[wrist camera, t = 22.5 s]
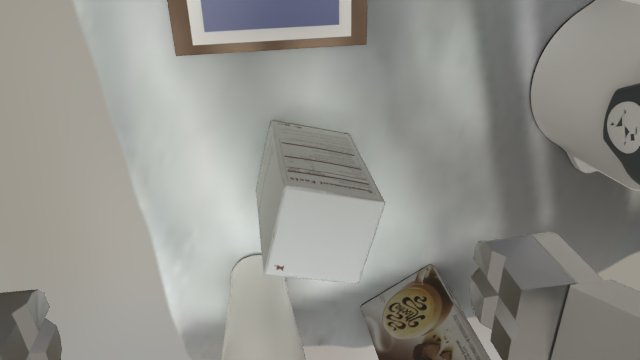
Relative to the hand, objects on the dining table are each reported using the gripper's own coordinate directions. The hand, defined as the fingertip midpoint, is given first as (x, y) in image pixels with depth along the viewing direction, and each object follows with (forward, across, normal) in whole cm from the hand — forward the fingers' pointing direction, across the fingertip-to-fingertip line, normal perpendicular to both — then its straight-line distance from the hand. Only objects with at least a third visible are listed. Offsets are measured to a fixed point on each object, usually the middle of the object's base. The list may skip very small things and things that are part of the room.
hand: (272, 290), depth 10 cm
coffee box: (+34, +15, -32) cm, 49 cm away
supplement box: (+34, +4, -14) cm, 37 cm away
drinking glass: (+34, -1, -26) cm, 43 cm away
